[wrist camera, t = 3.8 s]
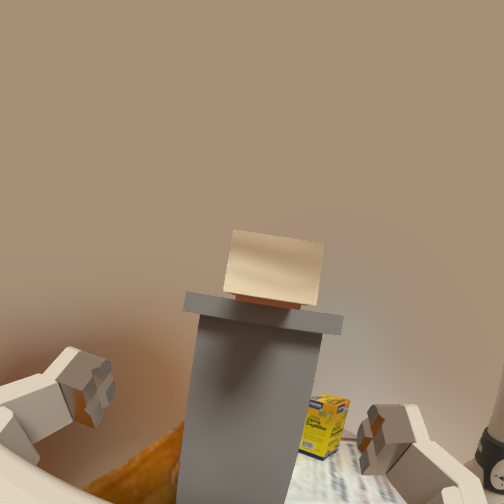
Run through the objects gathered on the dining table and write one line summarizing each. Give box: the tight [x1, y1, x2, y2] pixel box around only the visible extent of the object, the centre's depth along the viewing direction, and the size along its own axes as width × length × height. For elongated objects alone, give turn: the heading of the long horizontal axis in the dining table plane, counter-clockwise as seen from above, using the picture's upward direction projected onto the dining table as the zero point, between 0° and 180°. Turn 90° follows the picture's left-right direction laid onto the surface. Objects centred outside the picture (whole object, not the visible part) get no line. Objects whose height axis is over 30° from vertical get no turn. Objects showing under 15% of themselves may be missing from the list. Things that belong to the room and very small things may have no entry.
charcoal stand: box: [176, 291, 343, 504], centre depth 30 cm, size 18×12×26 cm, turn 178°
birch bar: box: [223, 230, 324, 310], centre depth 26 cm, size 26×4×3 cm, turn 178°
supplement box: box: [298, 394, 350, 461], centre depth 49 cm, size 6×6×11 cm
